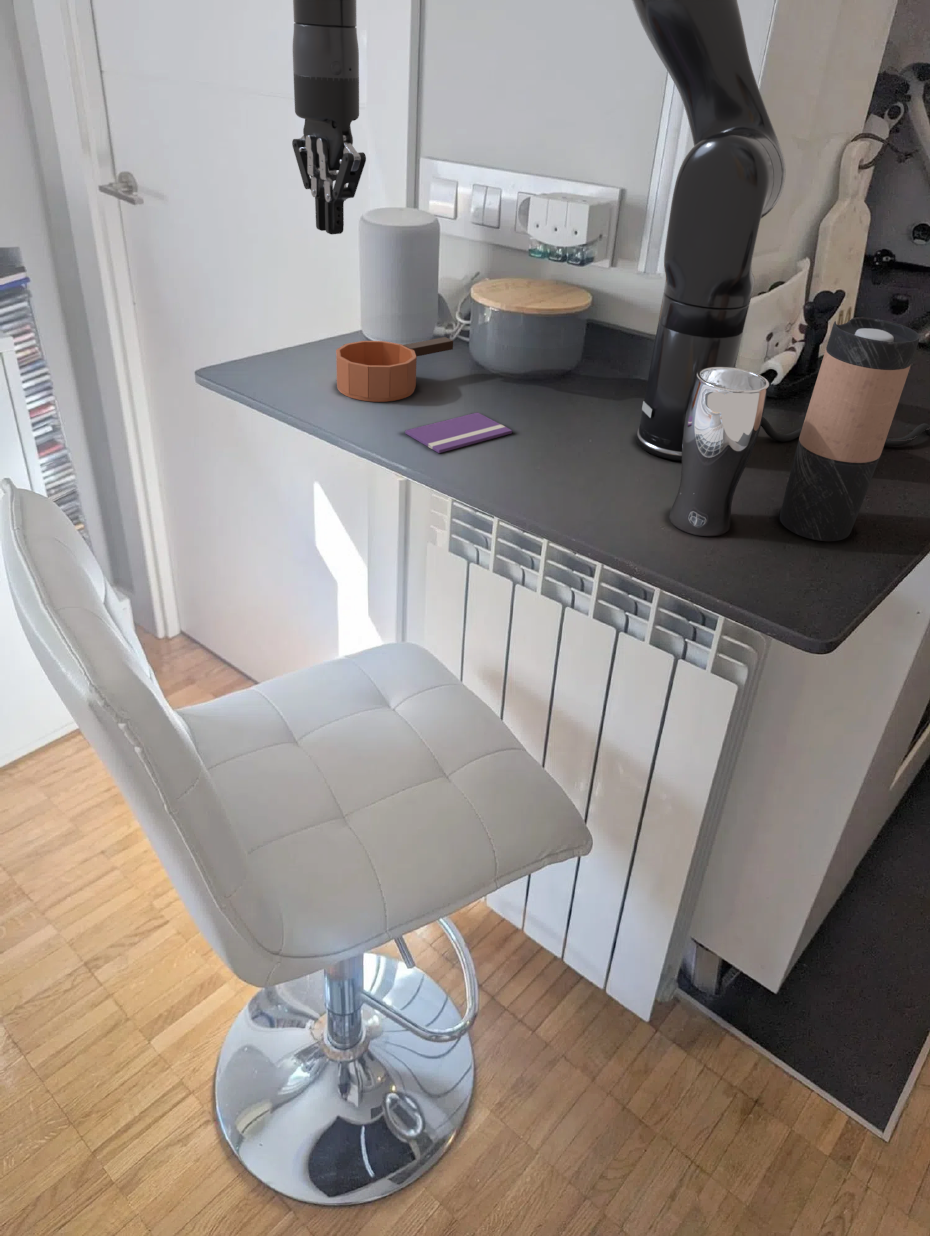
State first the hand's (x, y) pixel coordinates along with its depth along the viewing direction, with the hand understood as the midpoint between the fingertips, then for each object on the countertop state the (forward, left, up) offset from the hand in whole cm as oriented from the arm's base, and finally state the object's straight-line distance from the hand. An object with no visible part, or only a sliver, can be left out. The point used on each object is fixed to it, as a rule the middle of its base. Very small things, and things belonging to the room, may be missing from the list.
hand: (329, 230), depth 115 cm
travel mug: (-17, +65, -17) cm, 69 cm away
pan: (-3, +11, -17) cm, 20 cm away
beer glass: (-7, +58, -17) cm, 61 cm away
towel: (0, +28, -17) cm, 33 cm away
